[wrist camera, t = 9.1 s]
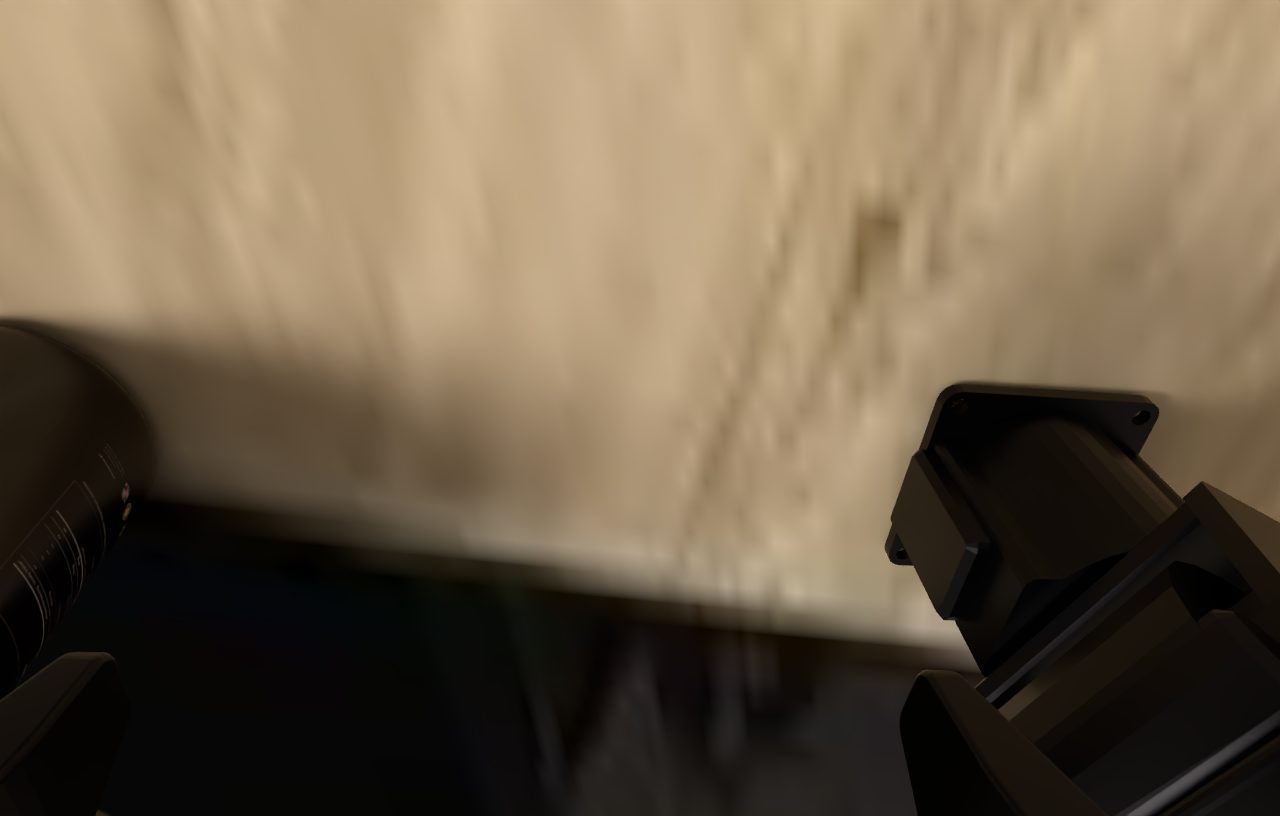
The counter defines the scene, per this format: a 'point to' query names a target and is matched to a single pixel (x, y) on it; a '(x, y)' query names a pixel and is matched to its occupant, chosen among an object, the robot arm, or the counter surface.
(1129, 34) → the counter surface
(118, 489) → the supplement bottle
